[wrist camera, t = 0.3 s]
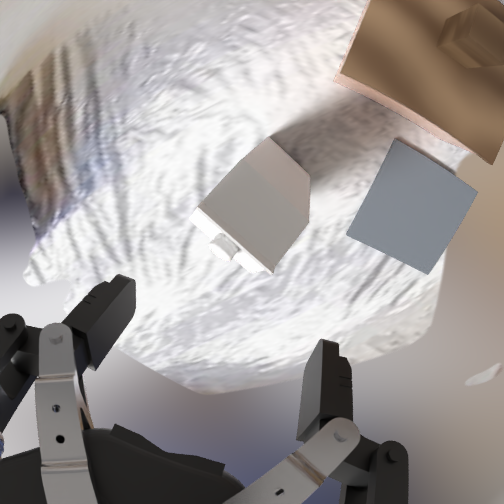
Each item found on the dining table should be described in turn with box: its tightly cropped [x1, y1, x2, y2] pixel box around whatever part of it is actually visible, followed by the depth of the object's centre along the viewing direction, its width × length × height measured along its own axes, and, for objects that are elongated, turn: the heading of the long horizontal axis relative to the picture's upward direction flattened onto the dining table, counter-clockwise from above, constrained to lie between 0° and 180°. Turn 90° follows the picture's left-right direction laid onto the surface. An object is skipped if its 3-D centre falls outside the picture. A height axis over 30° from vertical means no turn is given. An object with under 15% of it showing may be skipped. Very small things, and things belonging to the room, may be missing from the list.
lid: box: [340, 0, 504, 165], centre depth 14 cm, size 16×16×7 cm
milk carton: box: [189, 137, 310, 275], centre depth 30 cm, size 7×7×19 cm
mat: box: [346, 139, 478, 275], centre depth 36 cm, size 14×14×1 cm
